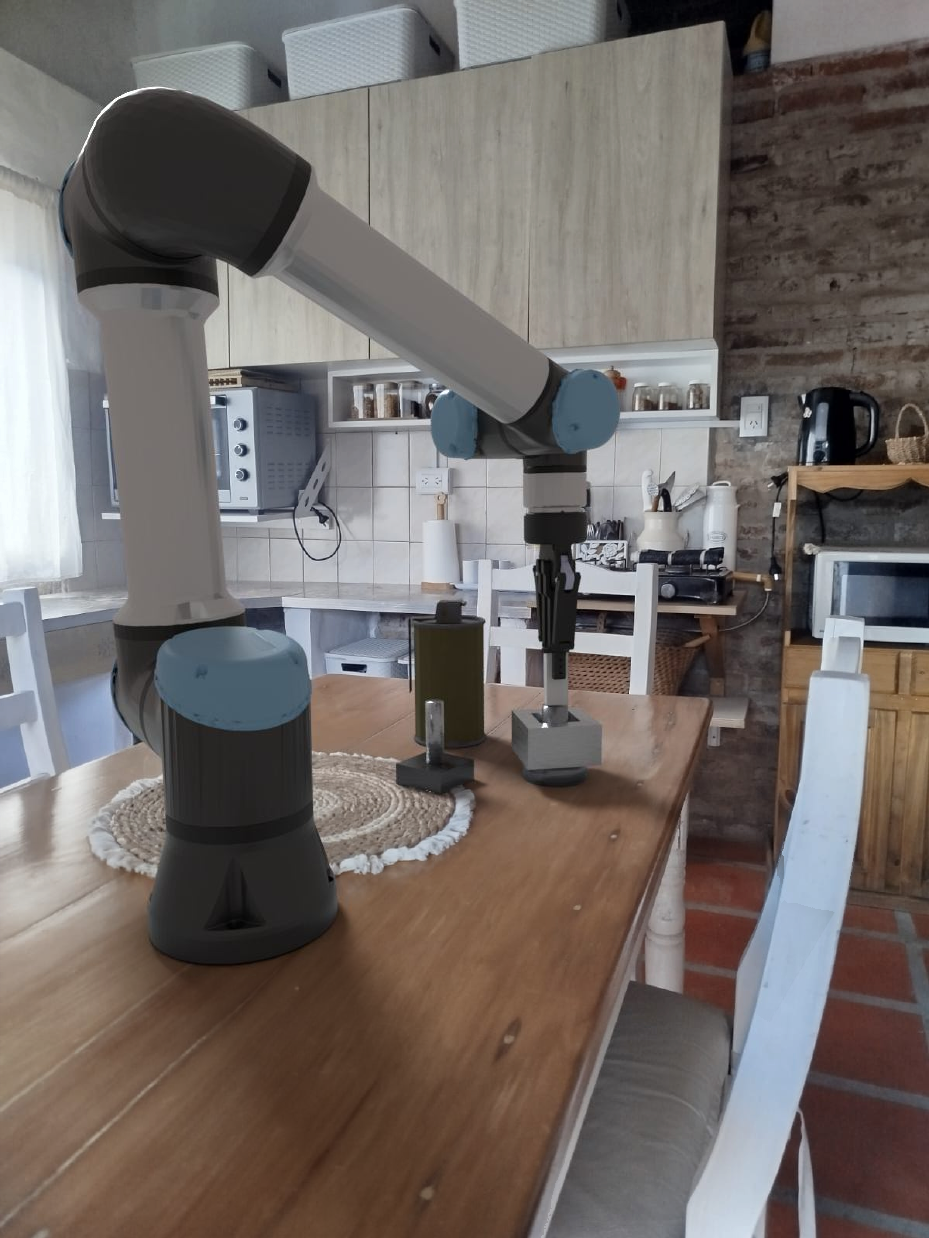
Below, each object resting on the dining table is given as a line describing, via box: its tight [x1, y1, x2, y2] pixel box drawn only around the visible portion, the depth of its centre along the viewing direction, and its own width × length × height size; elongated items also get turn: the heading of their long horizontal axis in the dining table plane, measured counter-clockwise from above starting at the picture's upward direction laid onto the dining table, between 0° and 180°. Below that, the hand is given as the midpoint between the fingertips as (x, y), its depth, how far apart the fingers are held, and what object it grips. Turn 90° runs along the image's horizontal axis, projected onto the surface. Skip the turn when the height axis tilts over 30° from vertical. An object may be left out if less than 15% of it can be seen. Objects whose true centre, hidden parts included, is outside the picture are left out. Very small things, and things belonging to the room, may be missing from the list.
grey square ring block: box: [511, 706, 603, 770], centre depth 104 cm, size 9×9×5 cm
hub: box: [521, 702, 588, 788], centre depth 104 cm, size 8×8×9 cm
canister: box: [407, 599, 487, 749], centre depth 121 cm, size 11×10×20 cm
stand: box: [395, 699, 475, 795], centre depth 103 cm, size 7×7×10 cm
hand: (556, 703), depth 104 cm, fingers closed
